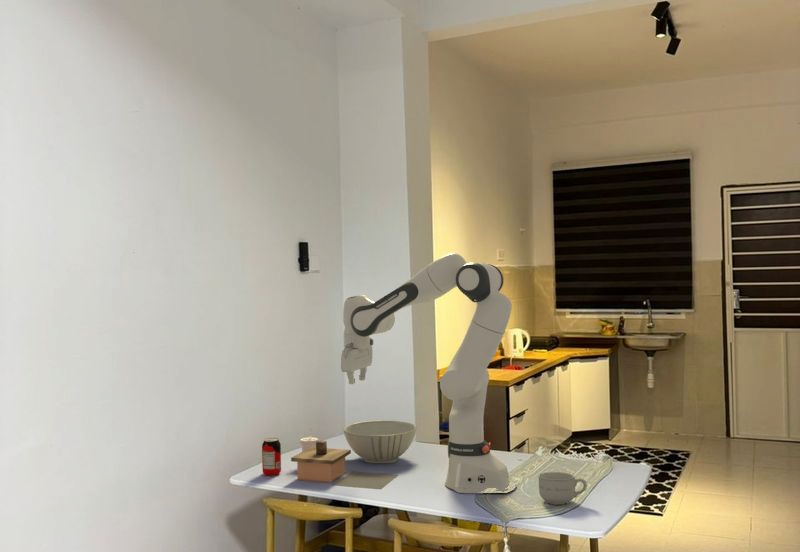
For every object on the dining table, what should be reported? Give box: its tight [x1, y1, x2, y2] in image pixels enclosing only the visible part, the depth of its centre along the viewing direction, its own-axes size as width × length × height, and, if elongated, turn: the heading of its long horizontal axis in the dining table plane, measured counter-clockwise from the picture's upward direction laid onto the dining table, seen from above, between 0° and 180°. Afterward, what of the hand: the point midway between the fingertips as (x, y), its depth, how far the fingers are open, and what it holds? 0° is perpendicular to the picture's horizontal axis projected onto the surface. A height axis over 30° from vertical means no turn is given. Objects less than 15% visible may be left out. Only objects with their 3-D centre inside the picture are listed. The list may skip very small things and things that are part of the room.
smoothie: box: [299, 426, 319, 452], centre depth 256 cm, size 6×6×14 cm
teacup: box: [537, 471, 588, 505], centre depth 209 cm, size 14×11×8 cm
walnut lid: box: [290, 440, 352, 464], centre depth 240 cm, size 15×15×5 cm
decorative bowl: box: [343, 419, 417, 464], centre depth 262 cm, size 27×27×12 cm
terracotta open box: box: [296, 457, 346, 484], centre depth 240 cm, size 12×12×7 cm
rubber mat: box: [332, 470, 399, 490], centre depth 235 cm, size 17×17×1 cm
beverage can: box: [261, 437, 282, 477], centre depth 246 cm, size 6×6×12 cm
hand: (357, 382), depth 247 cm, fingers open, 8 cm apart
